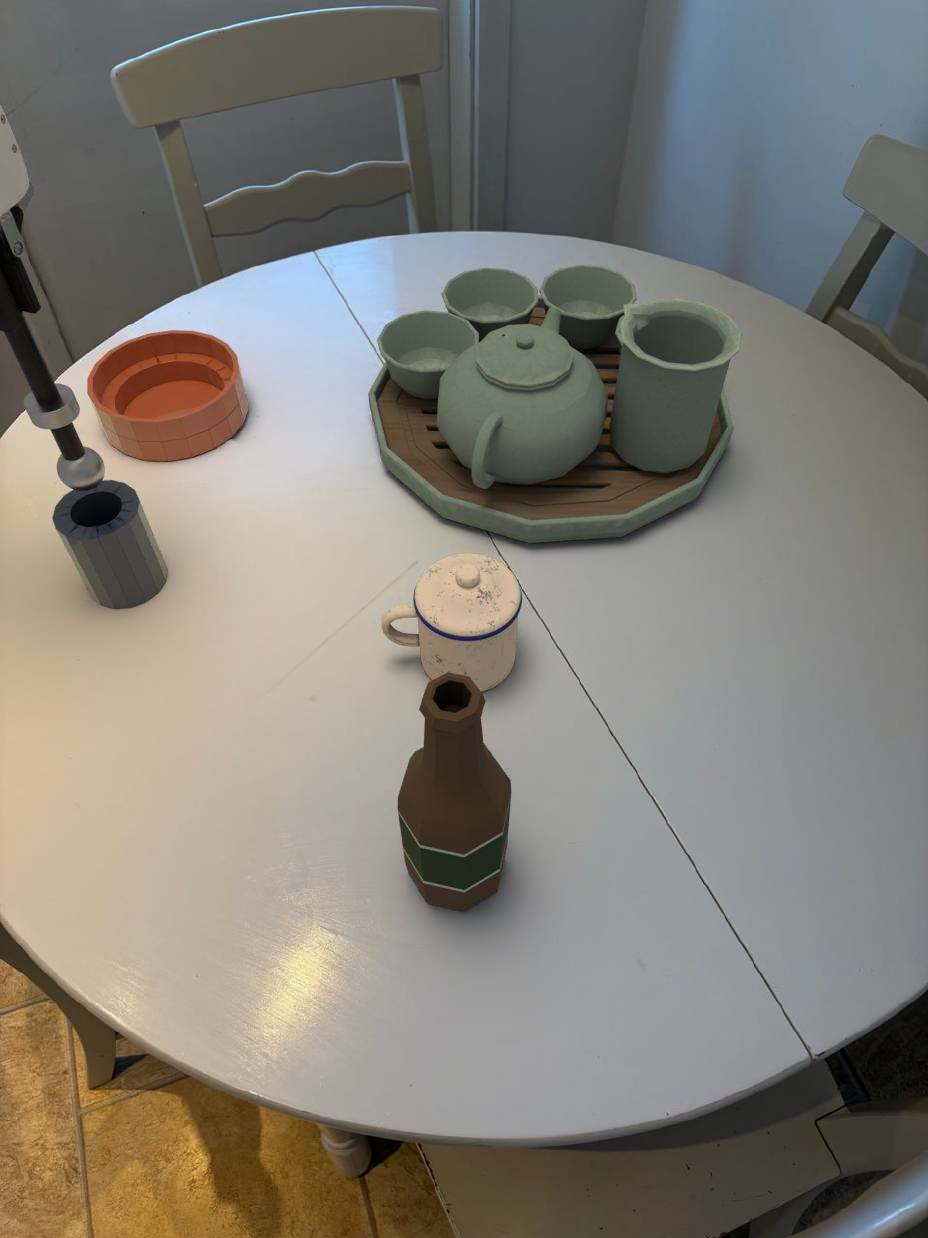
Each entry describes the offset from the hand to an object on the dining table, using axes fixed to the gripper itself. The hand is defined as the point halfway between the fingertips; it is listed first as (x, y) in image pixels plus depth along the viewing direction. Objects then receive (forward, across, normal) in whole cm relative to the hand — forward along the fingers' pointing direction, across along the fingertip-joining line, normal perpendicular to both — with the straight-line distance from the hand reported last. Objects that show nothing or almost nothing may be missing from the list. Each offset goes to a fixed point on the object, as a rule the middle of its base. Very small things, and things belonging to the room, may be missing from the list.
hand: (9, 316), depth 64 cm
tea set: (+29, -36, +32) cm, 56 cm away
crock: (+29, +1, +1) cm, 29 cm away
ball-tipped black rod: (+17, 0, 0) cm, 17 cm away
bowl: (+29, -23, -8) cm, 37 cm away
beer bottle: (+28, +17, +41) cm, 52 cm away
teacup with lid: (+29, -2, +34) cm, 44 cm away
